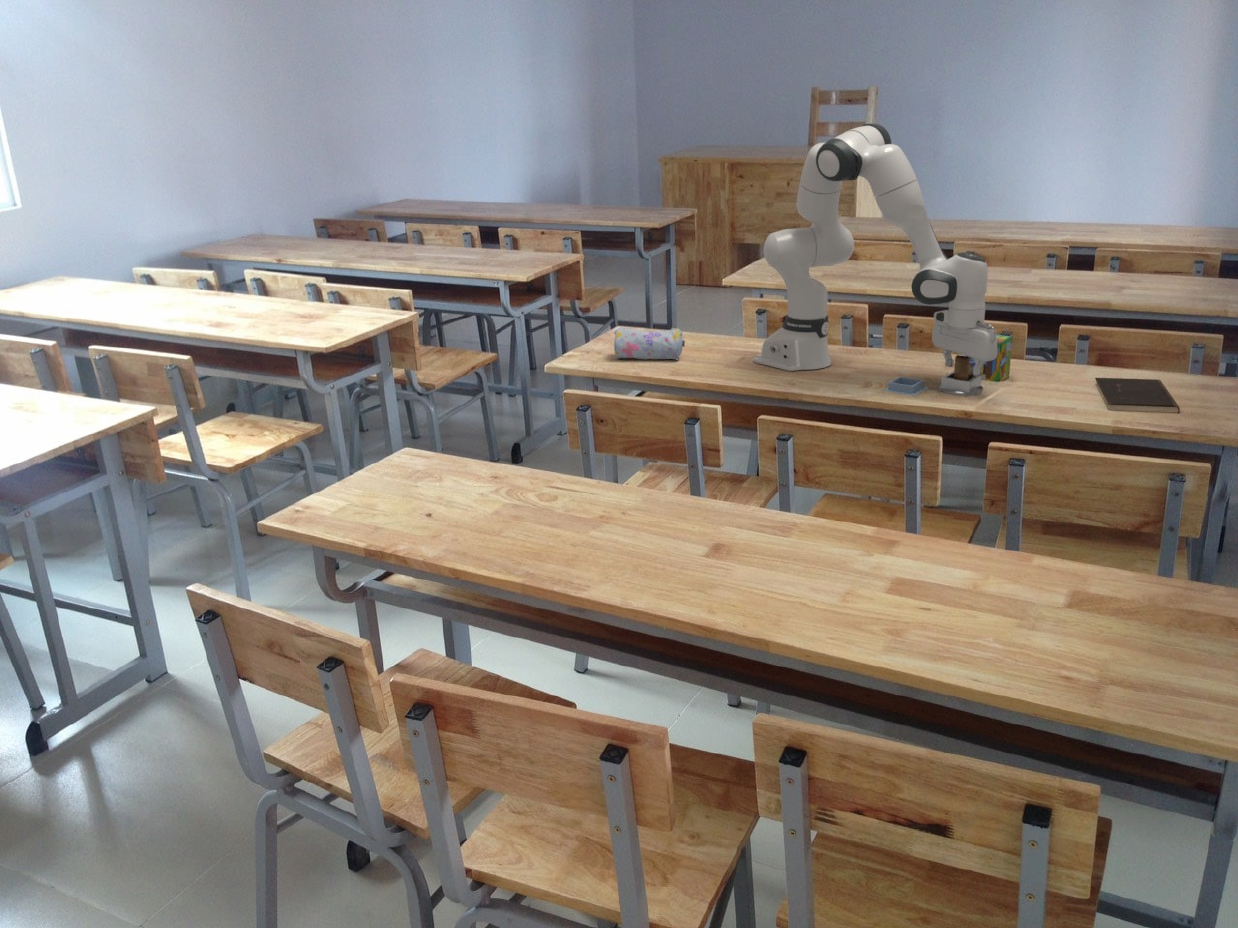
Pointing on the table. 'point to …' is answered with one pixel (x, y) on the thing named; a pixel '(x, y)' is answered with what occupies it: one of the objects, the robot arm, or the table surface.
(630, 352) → the pencil case
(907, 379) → the stand
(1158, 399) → the hardcover book
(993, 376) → the chalk box
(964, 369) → the peg
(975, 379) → the hub
